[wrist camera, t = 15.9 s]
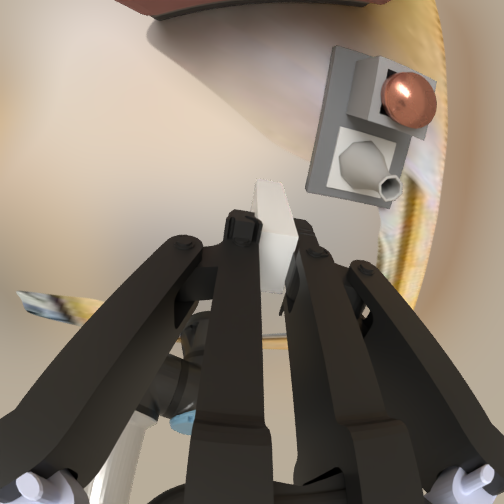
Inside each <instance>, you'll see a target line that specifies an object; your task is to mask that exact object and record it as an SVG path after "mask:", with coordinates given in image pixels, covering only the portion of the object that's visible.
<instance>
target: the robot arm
mask: <svg viewBox="0 0 504 504" xmlns="http://www.w3.org/2000/svg"><path fill="white" fill-rule="evenodd" d="M284 285H285V286H286V293H285V296H284V299H283V302H282V306H281V309H280V312H279V316H281V315H282V313H283V311H284V314H285V322H286V332H287V341H288V351H289V360H290V370H291V381H292V391H293V402H294V413H295V425H296V437H297V451H298V456H297V462H296V464H295V468H294V475H293V481H294V485H292V484H286V483H281V482H276V481H273V465H272V464H273V463H272V442H271V434H270V430H269V429H268V428H267V427H266V425H265V421H264V389H263V352H262V321H261V320H262V319H261V292H269V293H278V294H282V292H283V289H284ZM210 299H213V300H212V306H211V311H204V312H199V313H196V314H194V315H192V314H193V312H194V311H195V309H196V307H197V306H198V303H199V300H210ZM366 305H367V307H368V308H369V309H370V313H369V314H368V316H367V318H365V317H364V316H363V315H362V312H363V310H364V309H365V307H366ZM180 334H181V344H182V350H183V356H184V359H181V358H179V357H177V356H174V355H172V354H169V352H170V350H171V349H172V347H173V345H174V344H175V342H176V340H177V339H178V337H179V335H180ZM159 415H160V416H163V417H166V418H169V419H170V426H171V428H172V429H173V430H175V431H177V432H179V433H182V434H186V435H191V440H190V448H189V457H188V465H187V474H186V484H182V485H179V486H176V487H174V488H171V489H169V490H167V491H165V492H163V493H162V494H160V495H158V496H157V497H156V498H154V499H153V500H152V501H150V502H149V503H148V504H493V502H494V500H495V498H496V496H497V495H498V494H501V493H502V492H504V435H503V434H501V432H500V431H499V430H498V429H497V428H496V427H495V426H494V425H492V423H491V422H490V420H489V418H488V416H487V415H486V413H485V411H484V410H483V408H482V407H481V405H480V403H479V402H478V400H477V399H476V397H475V395H474V394H473V392H472V391H471V389H470V388H469V386H468V384H467V383H466V382H465V380H464V378H463V377H462V376H461V374H460V373H459V371H458V370H457V368H456V367H455V366H454V364H453V363H452V361H451V360H450V358H449V357H448V356H447V354H446V353H445V351H444V350H443V349H442V347H441V346H440V345H439V343H438V342H437V341H436V339H435V338H434V337H433V335H432V334H431V333H430V331H429V330H428V329H427V327H426V326H425V325H424V324H423V322H422V321H421V320H420V319H419V317H418V316H417V315H416V313H415V312H414V311H413V310H412V308H411V307H410V306H409V305H408V304H407V302H406V301H405V300H404V299H403V297H402V296H401V295H400V294H399V293H398V292H397V290H396V289H395V288H394V287H393V286H392V284H391V283H390V282H389V281H388V280H387V279H386V277H385V276H384V275H383V274H382V273H381V272H380V271H379V270H378V269H377V268H376V267H375V266H374V265H372V264H371V263H370V262H366V261H364V260H355V261H352V262H351V264H350V266H349V268H347V267H344V266H341V265H338V264H336V263H334V260H333V258H332V256H331V254H330V253H329V251H327V250H326V249H324V248H323V247H321V246H319V244H318V241H317V238H316V236H315V233H314V232H313V228H312V226H311V225H310V224H309V223H308V222H307V221H306V220H302V219H296V218H293V216H292V213H291V210H290V207H289V203H288V200H287V197H286V193H285V190H284V187H283V184H282V183H281V182H275V181H270V180H264V179H258V178H257V179H256V184H255V189H254V195H253V201H252V206H251V211H250V212H248V211H242V210H235V209H234V210H233V211H231V212H230V213H229V216H228V217H227V218H226V224H225V230H224V238H223V241H222V242H221V243H220V244H218V245H214V246H208V247H203V244H202V242H201V241H200V240H199V239H198V238H196V237H193V236H188V235H177V236H174V237H171V238H169V239H168V240H167V241H166V242H165V243H164V244H162V245H161V246H160V247H159V248H158V249H157V250H156V251H155V252H154V253H153V254H152V255H151V256H150V257H149V258H148V259H147V260H146V261H145V262H144V263H143V264H142V265H141V266H140V267H139V268H138V269H137V270H136V271H135V272H134V273H133V274H132V275H131V276H130V277H129V278H128V279H127V280H126V281H125V282H124V283H123V284H122V285H121V286H120V287H119V288H118V289H117V290H116V291H115V292H114V293H113V294H112V295H111V296H110V297H109V298H108V299H107V300H106V301H105V302H104V304H103V305H102V306H101V307H100V308H99V309H98V310H97V311H96V312H95V313H94V314H93V315H92V316H91V318H90V319H89V320H88V321H87V322H86V323H85V324H84V325H83V326H82V327H81V329H80V330H79V331H78V332H77V333H76V334H75V335H74V337H73V338H72V339H71V340H70V341H69V342H68V343H67V345H66V346H65V347H64V348H63V349H62V350H61V352H60V353H59V354H58V355H57V356H56V358H55V359H54V360H53V361H52V362H51V364H50V365H49V366H48V367H47V369H46V370H45V371H44V372H43V373H42V375H41V376H40V377H39V378H38V380H37V381H36V383H35V384H34V385H33V386H32V387H31V389H30V390H29V391H28V393H27V394H26V395H25V396H24V398H23V399H22V401H21V402H20V403H19V405H18V406H17V407H16V409H15V410H13V411H12V412H10V413H9V414H7V415H6V416H4V417H3V418H1V419H0V504H128V502H129V498H130V493H131V488H132V484H133V479H134V475H135V470H136V466H137V462H138V458H139V454H140V450H141V446H142V442H143V438H144V434H145V430H146V429H148V428H149V427H151V426H153V425H156V424H157V421H158V417H159ZM422 488H423V489H424V490H425V491H426V492H427V493H426V494H425V495H423V490H422Z"/></svg>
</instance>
